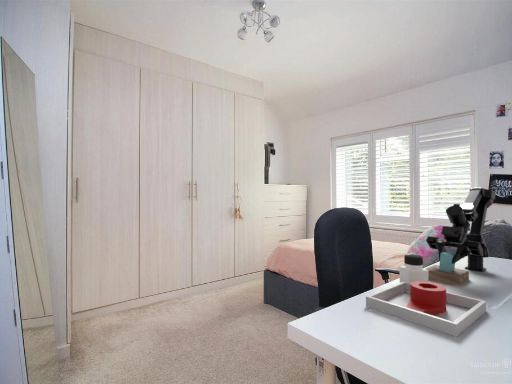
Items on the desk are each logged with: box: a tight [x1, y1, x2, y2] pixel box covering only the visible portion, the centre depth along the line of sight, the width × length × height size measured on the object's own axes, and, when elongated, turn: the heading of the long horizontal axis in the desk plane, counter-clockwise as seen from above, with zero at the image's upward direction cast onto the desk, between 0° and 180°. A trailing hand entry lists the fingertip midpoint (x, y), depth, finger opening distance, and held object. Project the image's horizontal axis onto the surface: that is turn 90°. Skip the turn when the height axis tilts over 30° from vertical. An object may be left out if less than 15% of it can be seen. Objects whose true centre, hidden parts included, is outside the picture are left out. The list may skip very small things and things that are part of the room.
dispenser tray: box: [365, 282, 487, 338], centre depth 86 cm, size 24×24×3 cm
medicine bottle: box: [399, 253, 430, 283], centre depth 106 cm, size 7×7×12 cm
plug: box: [438, 252, 456, 272], centre depth 114 cm, size 4×4×10 cm
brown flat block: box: [425, 264, 470, 287], centre depth 114 cm, size 12×12×4 cm
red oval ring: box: [405, 281, 447, 316], centre depth 85 cm, size 18×9×7 cm, turn 130°
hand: (446, 262), depth 113 cm, fingers closed on plug, 4 cm apart
